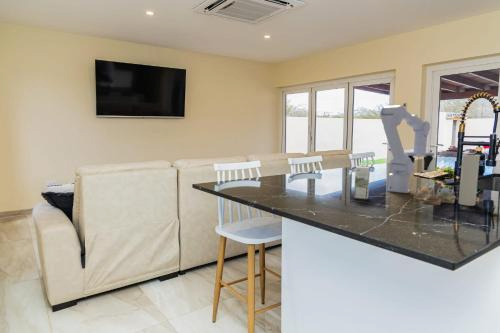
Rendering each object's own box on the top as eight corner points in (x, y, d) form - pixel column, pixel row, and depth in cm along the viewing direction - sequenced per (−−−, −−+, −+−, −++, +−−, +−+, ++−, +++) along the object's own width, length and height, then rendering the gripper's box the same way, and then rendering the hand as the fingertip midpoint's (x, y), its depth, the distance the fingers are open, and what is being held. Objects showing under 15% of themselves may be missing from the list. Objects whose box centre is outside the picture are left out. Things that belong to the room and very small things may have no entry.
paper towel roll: (469, 206, 141) (474, 155, 139) (455, 203, 147) (459, 153, 144) (479, 205, 145) (484, 154, 142) (465, 202, 150) (469, 153, 147)
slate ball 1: (420, 194, 161) (420, 186, 160) (421, 193, 164) (422, 184, 164) (429, 195, 159) (430, 187, 158) (430, 194, 162) (431, 185, 162)
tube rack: (413, 198, 156) (413, 190, 155) (417, 194, 167) (417, 186, 166) (454, 203, 147) (454, 194, 147) (455, 198, 158) (456, 189, 158)
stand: (422, 203, 147) (423, 198, 147) (424, 200, 153) (425, 195, 152) (439, 205, 144) (440, 200, 144) (441, 202, 149) (441, 197, 149)
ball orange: (418, 196, 157) (419, 187, 156) (420, 194, 160) (420, 186, 159) (428, 197, 155) (429, 188, 154) (429, 195, 158) (430, 187, 157)
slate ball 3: (439, 196, 157) (440, 187, 156) (440, 195, 160) (441, 186, 159) (449, 197, 154) (450, 188, 154) (450, 196, 158) (451, 187, 157)
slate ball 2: (438, 198, 152) (439, 189, 152) (439, 196, 156) (440, 188, 155) (449, 199, 150) (449, 190, 150) (449, 198, 154) (450, 189, 153)
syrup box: (368, 197, 158) (370, 166, 156) (367, 199, 153) (368, 167, 151) (355, 196, 160) (357, 165, 159) (353, 198, 155) (355, 166, 153)
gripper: (410, 144, 174) (408, 171, 176) (438, 144, 175) (436, 171, 176) (403, 143, 181) (402, 169, 183) (430, 144, 182) (428, 169, 183)
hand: (418, 170), depth 180 cm, fingers open, 7 cm apart
